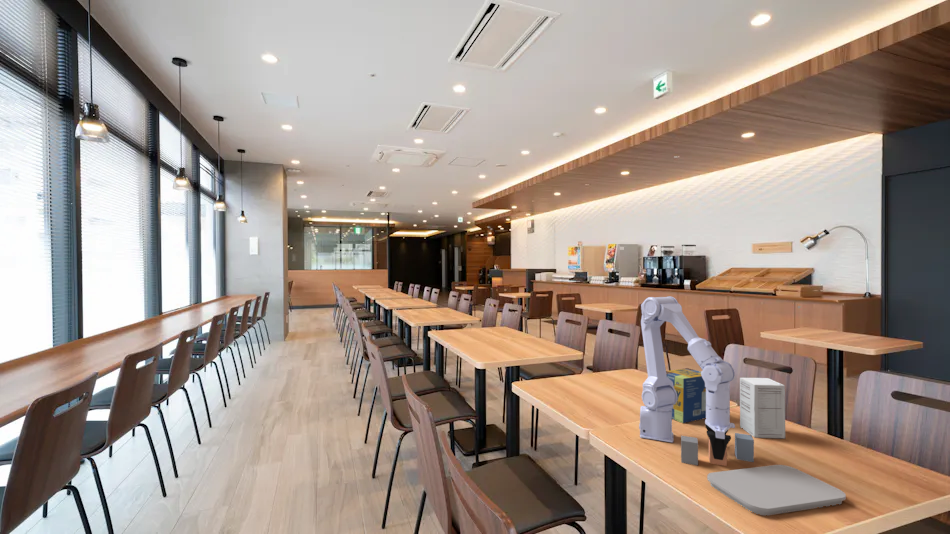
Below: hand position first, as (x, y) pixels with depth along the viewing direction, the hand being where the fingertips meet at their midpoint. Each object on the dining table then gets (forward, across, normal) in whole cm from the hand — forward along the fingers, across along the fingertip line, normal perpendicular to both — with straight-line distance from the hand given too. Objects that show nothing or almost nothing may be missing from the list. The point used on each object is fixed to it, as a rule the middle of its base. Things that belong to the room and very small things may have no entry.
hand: (717, 455), depth 116 cm
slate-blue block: (+2, +6, -7) cm, 9 cm away
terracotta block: (+2, 0, 0) cm, 2 cm away
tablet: (+2, -13, -10) cm, 17 cm away
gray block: (+2, -3, +7) cm, 8 cm away
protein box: (+2, +37, +7) cm, 38 cm away
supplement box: (+2, +30, -15) cm, 34 cm away
